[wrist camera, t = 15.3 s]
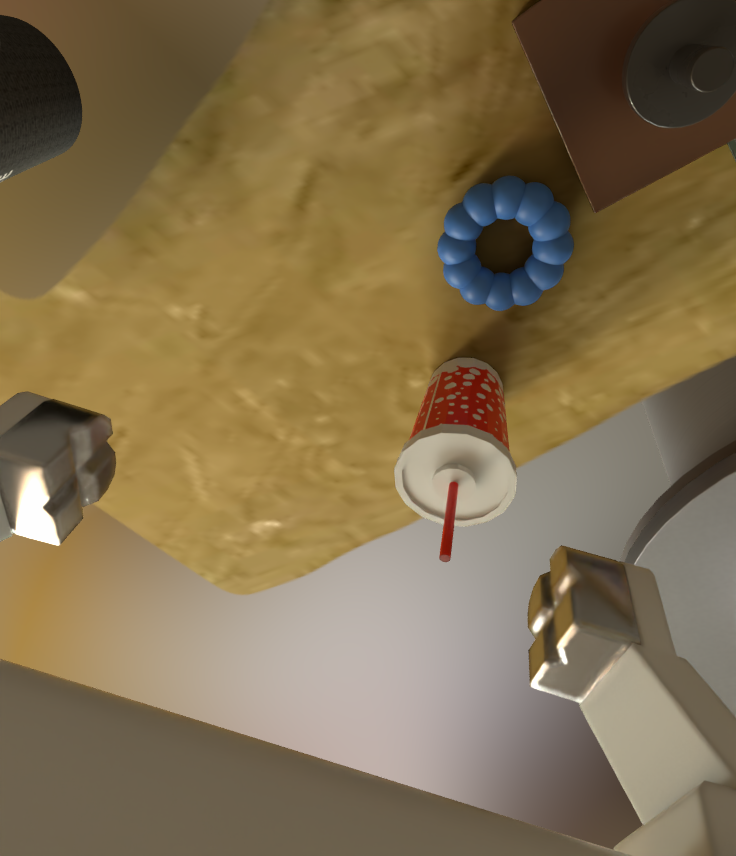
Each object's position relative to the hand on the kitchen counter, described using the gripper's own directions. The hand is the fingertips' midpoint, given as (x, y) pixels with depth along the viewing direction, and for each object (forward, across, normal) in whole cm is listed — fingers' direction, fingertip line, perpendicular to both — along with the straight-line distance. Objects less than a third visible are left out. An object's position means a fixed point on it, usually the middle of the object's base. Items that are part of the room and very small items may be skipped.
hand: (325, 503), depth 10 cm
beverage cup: (+24, -4, +11) cm, 27 cm away
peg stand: (+24, -7, -7) cm, 26 cm away
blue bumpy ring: (+24, -4, +2) cm, 24 cm away
